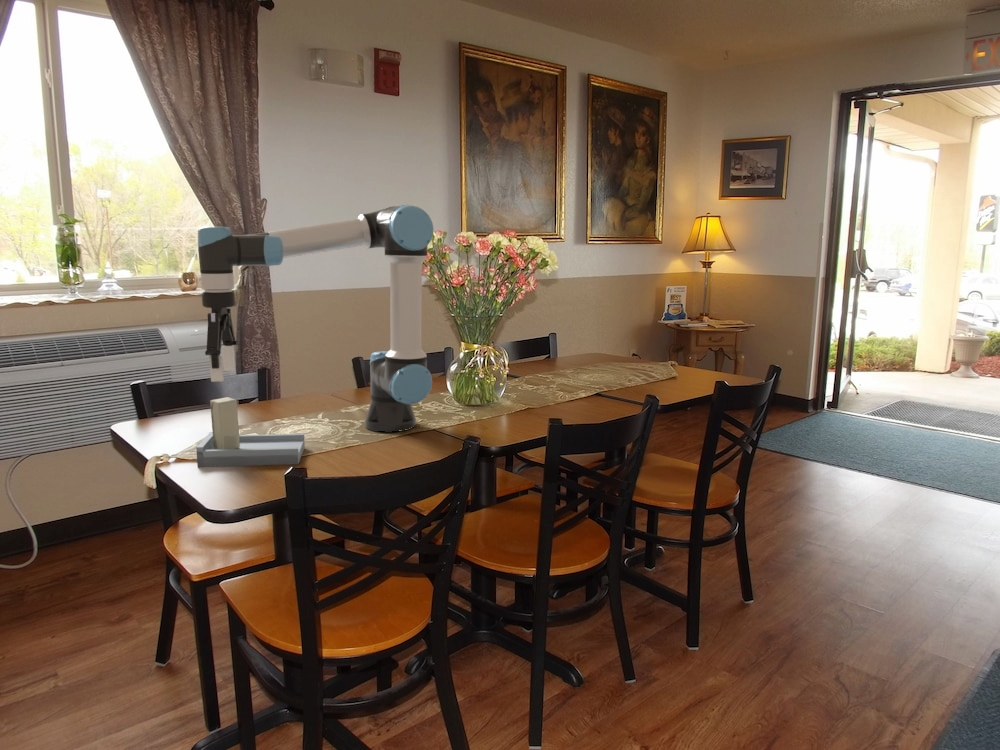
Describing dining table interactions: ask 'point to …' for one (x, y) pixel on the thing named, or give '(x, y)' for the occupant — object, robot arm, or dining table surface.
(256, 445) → the blue-grey tray
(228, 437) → the box
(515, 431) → the dining table surface
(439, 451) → the dining table surface
